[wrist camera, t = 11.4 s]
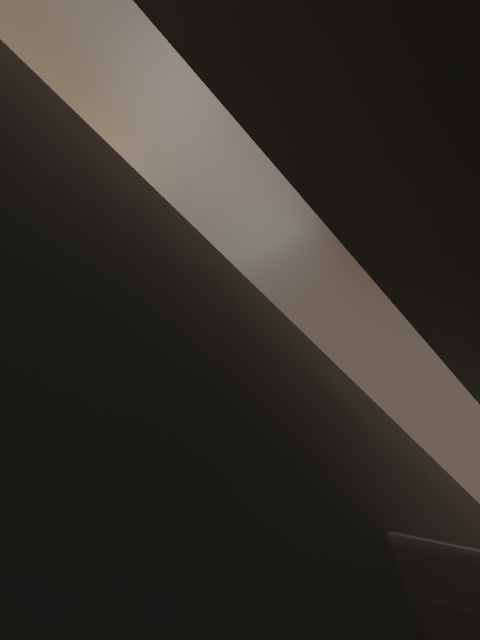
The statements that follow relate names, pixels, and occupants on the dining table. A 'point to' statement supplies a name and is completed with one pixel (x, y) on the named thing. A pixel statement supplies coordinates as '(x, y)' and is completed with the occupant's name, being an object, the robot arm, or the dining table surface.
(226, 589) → the panel
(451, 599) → the robot arm
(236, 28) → the white open box
